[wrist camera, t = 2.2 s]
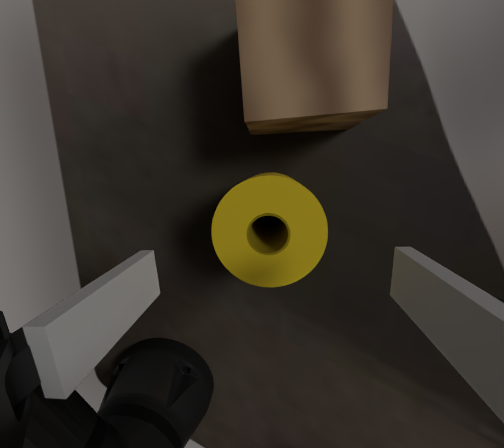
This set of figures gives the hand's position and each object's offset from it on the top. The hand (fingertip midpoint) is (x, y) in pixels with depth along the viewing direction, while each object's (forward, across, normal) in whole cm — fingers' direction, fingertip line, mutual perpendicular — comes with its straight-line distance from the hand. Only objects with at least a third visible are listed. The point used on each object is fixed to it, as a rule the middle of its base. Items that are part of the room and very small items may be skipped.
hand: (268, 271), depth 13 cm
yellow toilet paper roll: (+17, 0, 0) cm, 17 cm away
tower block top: (+13, +3, +15) cm, 20 cm away
